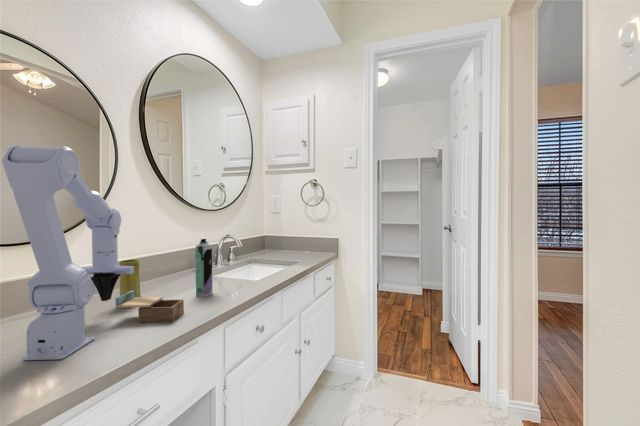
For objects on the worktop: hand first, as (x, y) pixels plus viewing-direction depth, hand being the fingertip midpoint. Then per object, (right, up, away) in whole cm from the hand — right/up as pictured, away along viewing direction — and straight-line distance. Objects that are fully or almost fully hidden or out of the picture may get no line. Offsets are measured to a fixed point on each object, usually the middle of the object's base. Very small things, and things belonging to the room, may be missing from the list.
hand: (106, 299), depth 82 cm
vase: (-1, -5, +12) cm, 13 cm away
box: (+15, -5, +1) cm, 16 cm away
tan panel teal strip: (+9, -1, 0) cm, 9 cm away
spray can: (+18, -5, +23) cm, 30 cm away
